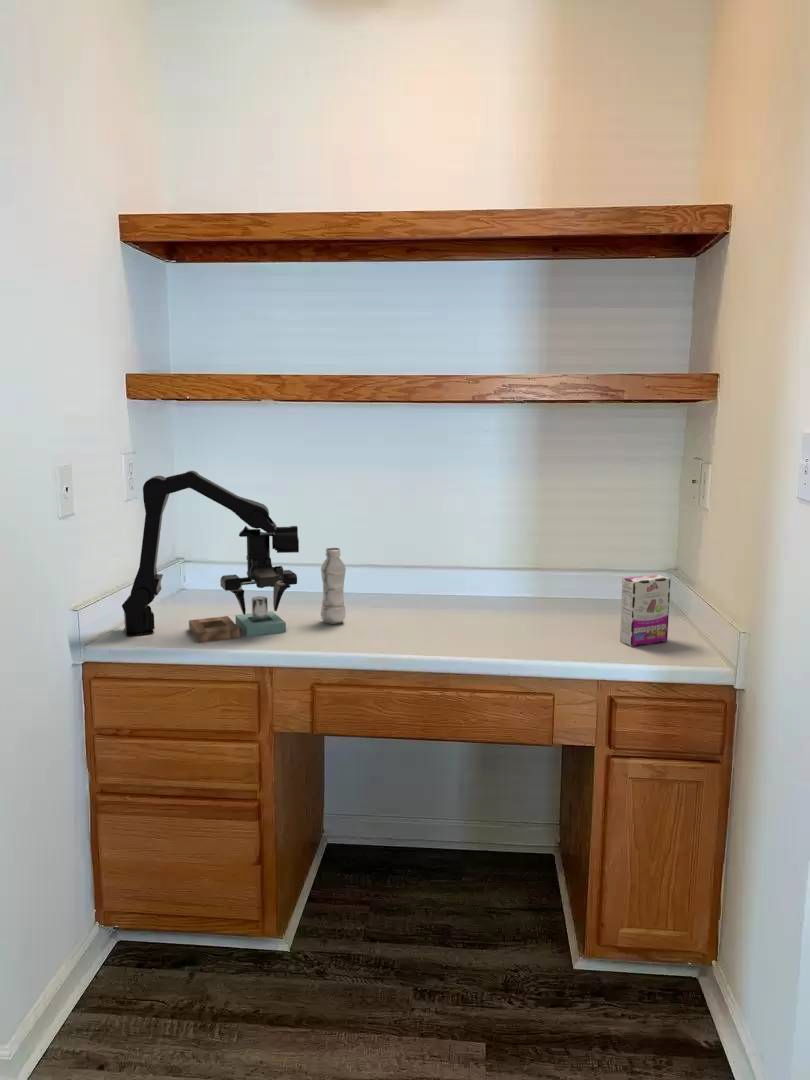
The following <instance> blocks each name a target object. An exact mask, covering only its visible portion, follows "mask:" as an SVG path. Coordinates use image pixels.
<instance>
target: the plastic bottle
mask: <svg viewBox="0 0 810 1080" xmlns="http://www.w3.org/2000/svg"><path fill="white" fill-rule="evenodd" d="M325 557H326V559H325V560H324V561H323V562H322V564H321V567H320V573H321V580H322V602H321V604H322V605H321V609H320V617H321V618H320V619H321V620H322V622H323V623H325V624H332V623H334V624H340V623H343V622H344V620H345V619H346V613H347V611H346V605H345V597H344V588H345V587H344V586H345V578H346V577H345V576H346V569H347V568H346V565H345V563H344V562H343V561H342V559H341V548H338V547H326V549H325Z"/></svg>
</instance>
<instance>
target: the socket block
mask: <svg viewBox="0 0 810 1080" xmlns="http://www.w3.org/2000/svg"><path fill="white" fill-rule="evenodd" d="M188 630H189V631H190V633H191V635H192V636H193V637H194V639H195V640H196V641H197V643H199V644H200V643H207V642H214V641H216V642H218V641H225V640H231V639H232V640H233V639H239V638H240V628H239V627H238V626H237V625H236V622H234V621H233V620H232V618H231V617H229V616H228V615H224V616H217V617H214V616H213V617H207V618H199V619H198V618H197V619H190V620H188Z"/></svg>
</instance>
